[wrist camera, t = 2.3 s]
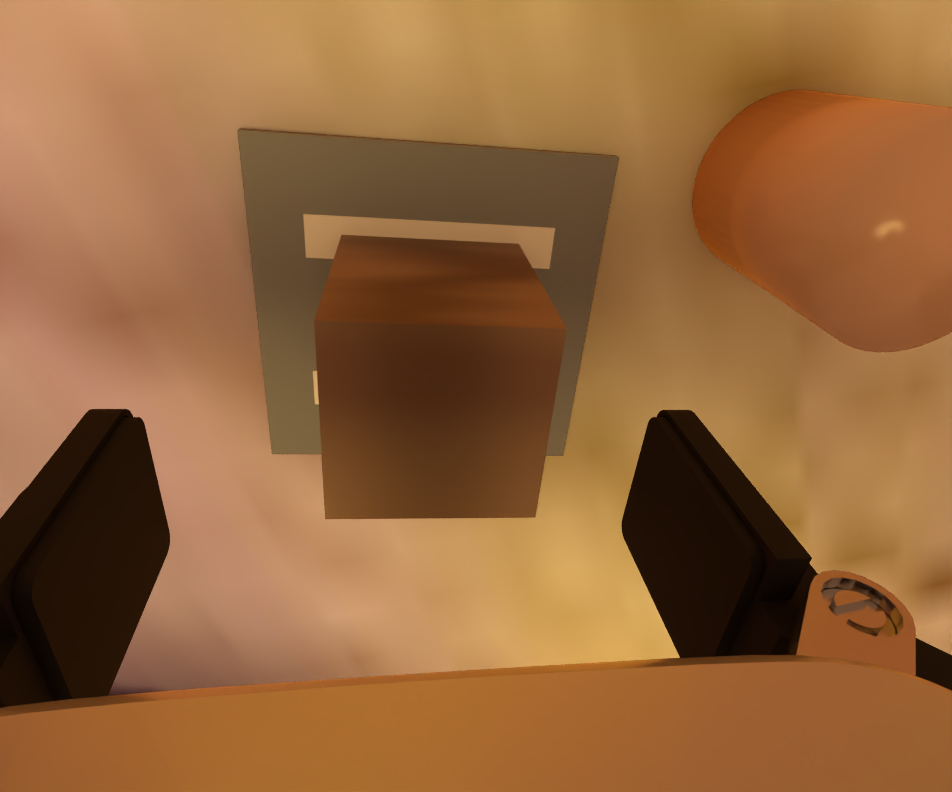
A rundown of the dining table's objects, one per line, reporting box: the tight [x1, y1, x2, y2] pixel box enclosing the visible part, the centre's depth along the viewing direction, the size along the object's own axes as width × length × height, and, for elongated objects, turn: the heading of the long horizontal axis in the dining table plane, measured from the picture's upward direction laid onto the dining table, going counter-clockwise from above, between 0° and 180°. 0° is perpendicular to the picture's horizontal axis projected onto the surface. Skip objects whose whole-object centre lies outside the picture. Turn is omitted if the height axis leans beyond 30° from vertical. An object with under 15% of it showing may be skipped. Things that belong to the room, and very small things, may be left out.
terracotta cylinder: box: [692, 90, 952, 352], centre depth 15 cm, size 5×5×6 cm
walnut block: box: [314, 235, 567, 519], centre depth 16 cm, size 5×5×6 cm
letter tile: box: [238, 129, 619, 456], centre depth 18 cm, size 10×10×1 cm
